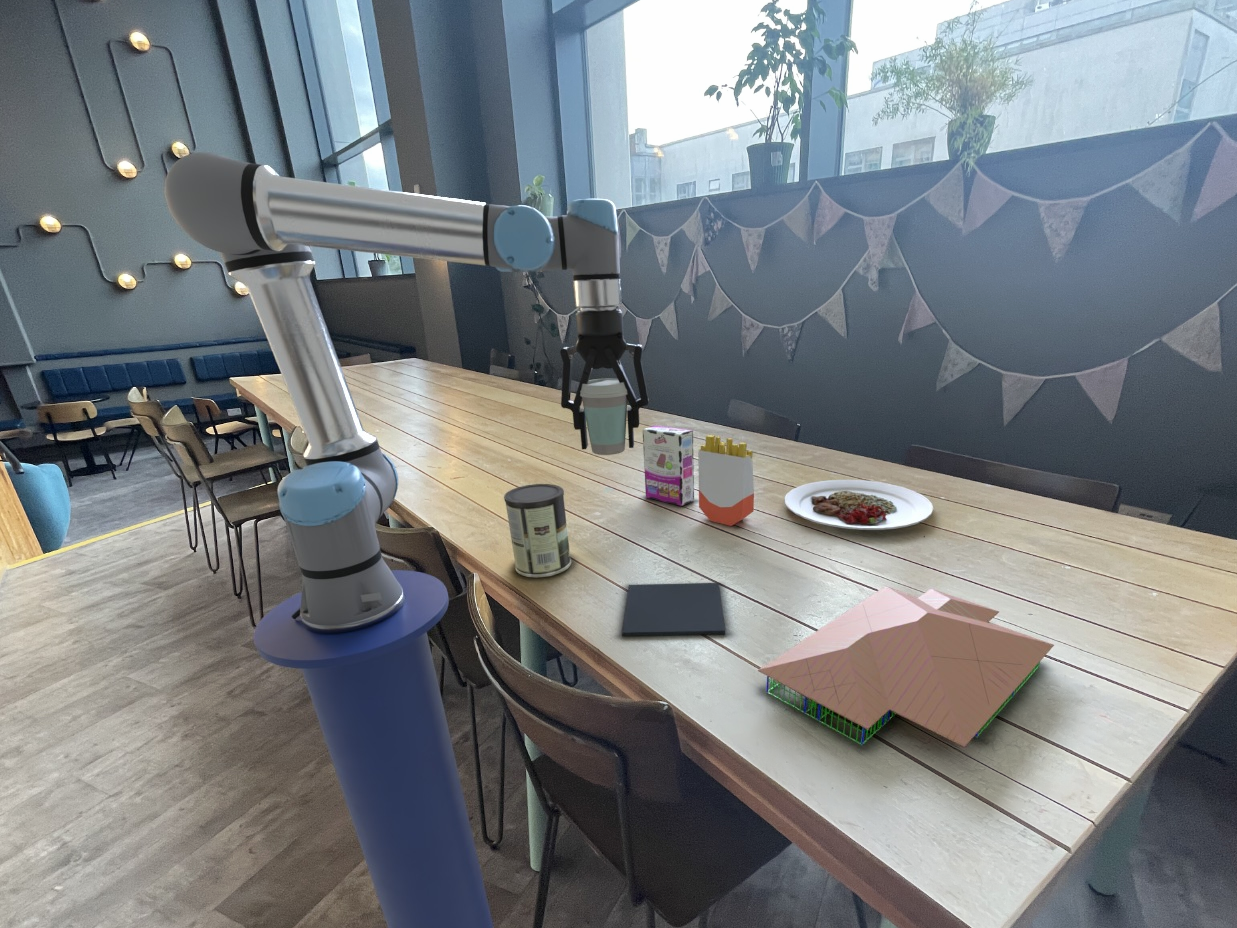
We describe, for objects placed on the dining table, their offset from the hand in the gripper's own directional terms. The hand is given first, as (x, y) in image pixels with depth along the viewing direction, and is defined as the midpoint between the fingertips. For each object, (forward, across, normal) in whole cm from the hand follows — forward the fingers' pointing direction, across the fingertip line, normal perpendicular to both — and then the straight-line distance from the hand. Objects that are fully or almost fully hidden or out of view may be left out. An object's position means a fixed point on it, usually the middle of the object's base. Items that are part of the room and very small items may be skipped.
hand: (608, 446), depth 109 cm
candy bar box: (+20, -11, -28) cm, 36 cm away
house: (+20, -41, +41) cm, 61 cm away
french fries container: (+20, -22, -14) cm, 33 cm away
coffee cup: (+1, 0, 0) cm, 1 cm away
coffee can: (+21, +13, +6) cm, 25 cm away
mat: (+20, -11, +23) cm, 32 cm away
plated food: (+20, -50, -18) cm, 57 cm away
